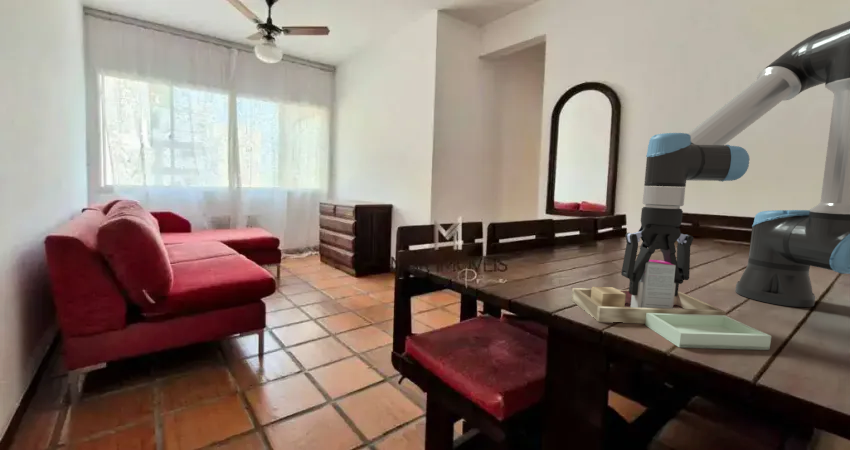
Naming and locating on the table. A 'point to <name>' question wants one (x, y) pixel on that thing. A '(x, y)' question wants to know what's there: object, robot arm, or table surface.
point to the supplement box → (658, 284)
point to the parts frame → (639, 314)
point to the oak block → (608, 296)
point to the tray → (707, 331)
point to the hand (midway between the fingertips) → (651, 309)
